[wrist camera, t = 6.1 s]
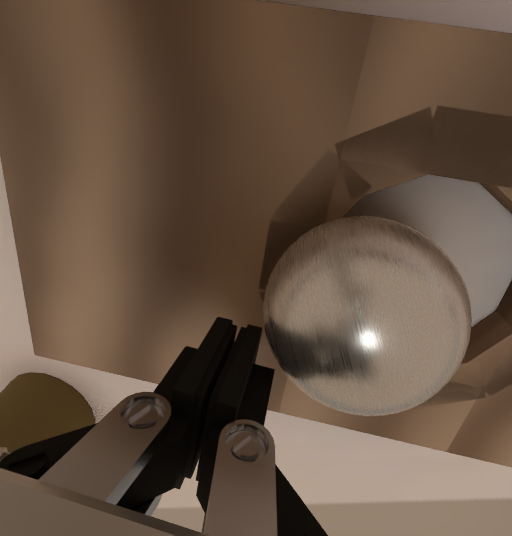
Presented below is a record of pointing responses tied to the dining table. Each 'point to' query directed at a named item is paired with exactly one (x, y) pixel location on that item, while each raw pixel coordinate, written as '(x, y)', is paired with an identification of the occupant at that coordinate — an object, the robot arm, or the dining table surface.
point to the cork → (40, 410)
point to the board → (236, 176)
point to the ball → (367, 316)
